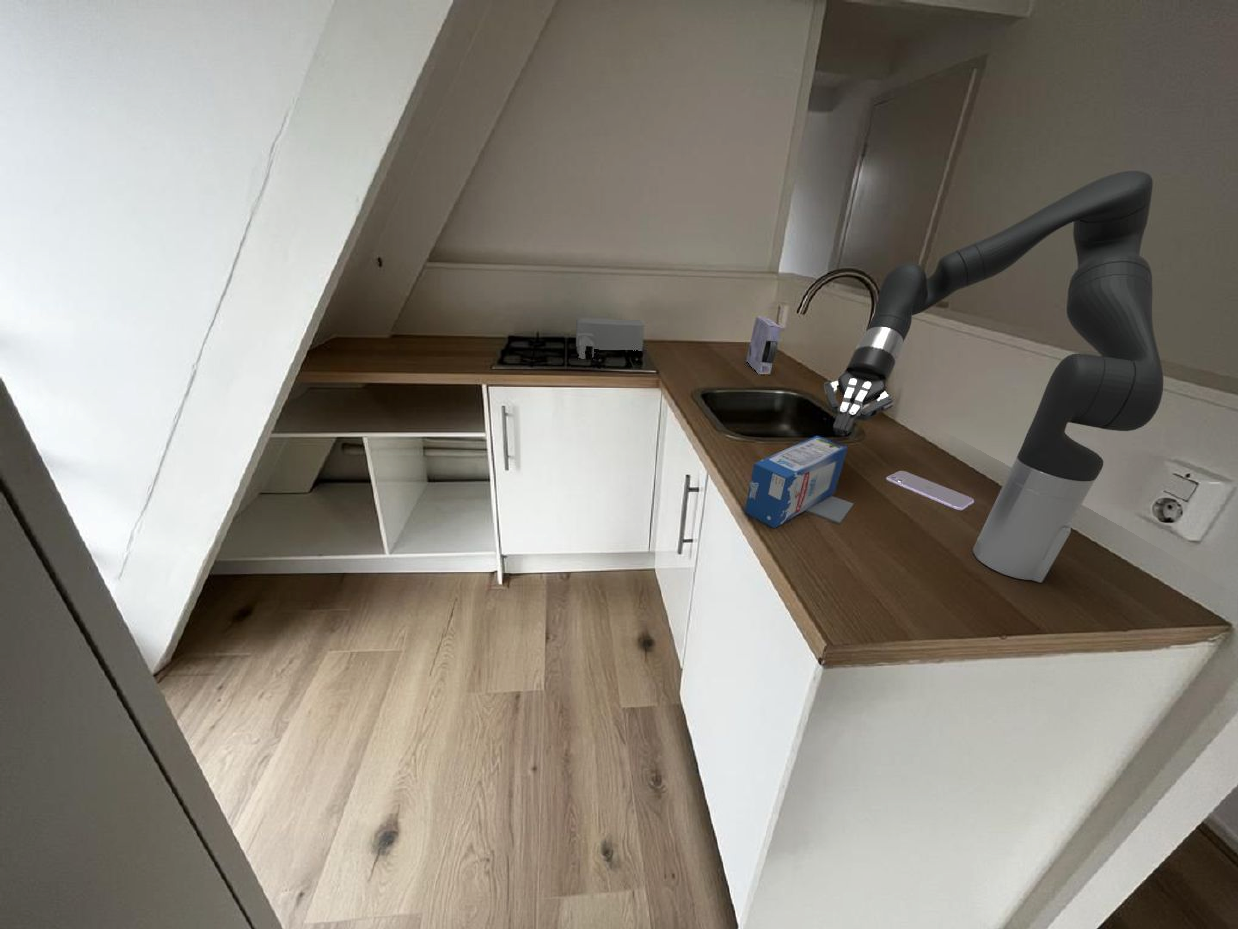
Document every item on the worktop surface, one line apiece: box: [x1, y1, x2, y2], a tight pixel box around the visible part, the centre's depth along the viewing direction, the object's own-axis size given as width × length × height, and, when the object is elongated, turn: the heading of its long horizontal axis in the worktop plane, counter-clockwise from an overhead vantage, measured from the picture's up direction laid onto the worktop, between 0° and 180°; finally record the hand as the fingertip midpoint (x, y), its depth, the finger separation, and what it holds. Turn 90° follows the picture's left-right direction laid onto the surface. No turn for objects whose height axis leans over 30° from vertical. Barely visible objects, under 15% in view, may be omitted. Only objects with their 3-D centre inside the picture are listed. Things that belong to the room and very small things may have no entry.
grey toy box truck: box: [575, 316, 645, 360], centre depth 185 cm, size 25×23×11 cm
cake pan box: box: [745, 315, 782, 375], centre depth 177 cm, size 19×5×18 cm, turn 0°
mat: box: [804, 495, 854, 525], centre depth 92 cm, size 12×9×1 cm
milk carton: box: [744, 435, 848, 529], centre depth 89 cm, size 10×6×20 cm
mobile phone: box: [885, 470, 975, 511], centre depth 101 cm, size 8×1×15 cm
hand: (838, 433), depth 90 cm, fingers closed
